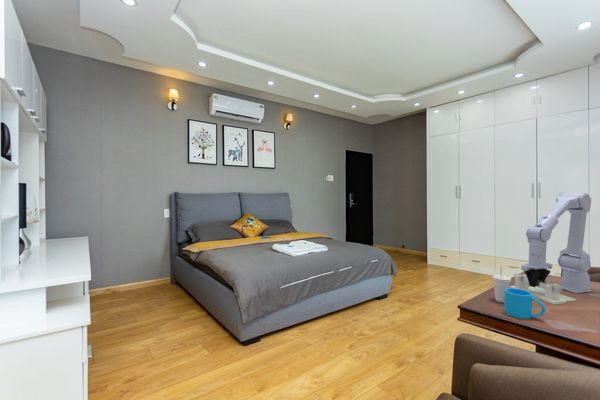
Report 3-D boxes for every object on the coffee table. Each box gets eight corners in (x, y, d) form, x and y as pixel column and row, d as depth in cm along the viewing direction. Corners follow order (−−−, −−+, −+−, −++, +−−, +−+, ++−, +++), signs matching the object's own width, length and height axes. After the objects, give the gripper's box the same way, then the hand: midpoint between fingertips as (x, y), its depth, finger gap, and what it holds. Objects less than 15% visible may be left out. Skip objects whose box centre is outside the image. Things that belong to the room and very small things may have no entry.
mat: (535, 286, 137) (535, 285, 137) (576, 300, 120) (576, 299, 120) (523, 287, 135) (523, 287, 135) (563, 302, 119) (563, 301, 119)
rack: (520, 287, 136) (520, 273, 136) (565, 303, 118) (566, 286, 117) (509, 288, 135) (510, 273, 134) (554, 304, 116) (554, 287, 116)
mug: (500, 312, 109) (501, 291, 108) (508, 307, 114) (509, 286, 113) (541, 324, 99) (542, 301, 99) (548, 318, 104) (549, 295, 104)
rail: (518, 278, 135) (518, 273, 135) (561, 292, 118) (561, 286, 117) (514, 278, 134) (514, 274, 134) (556, 292, 117) (556, 287, 117)
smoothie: (504, 298, 123) (505, 265, 122) (514, 304, 117) (515, 269, 116) (488, 297, 124) (489, 264, 123) (497, 303, 117) (498, 269, 117)
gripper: (533, 257, 120) (532, 290, 120) (560, 255, 123) (559, 287, 124) (516, 253, 127) (515, 284, 127) (543, 252, 130) (542, 282, 131)
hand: (536, 286), depth 126 cm, fingers open, 3 cm apart
